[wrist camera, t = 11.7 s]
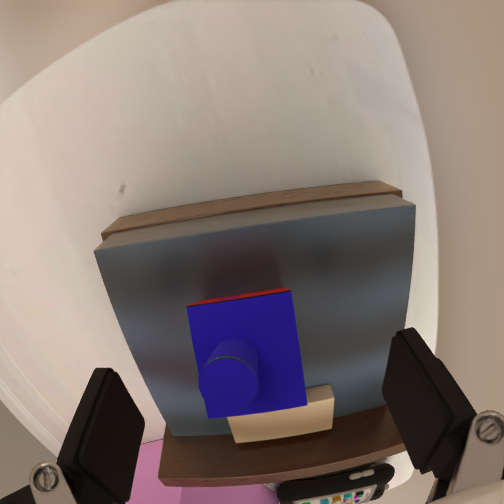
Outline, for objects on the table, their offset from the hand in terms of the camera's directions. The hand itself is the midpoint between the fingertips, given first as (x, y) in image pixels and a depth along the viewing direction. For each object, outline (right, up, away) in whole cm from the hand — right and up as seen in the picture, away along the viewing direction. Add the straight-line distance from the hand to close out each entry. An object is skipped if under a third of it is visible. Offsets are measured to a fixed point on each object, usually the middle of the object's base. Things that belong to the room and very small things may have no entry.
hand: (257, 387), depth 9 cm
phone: (+11, -27, +23) cm, 37 cm away
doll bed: (+1, +1, +11) cm, 11 cm away
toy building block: (0, +1, +5) cm, 5 cm away
